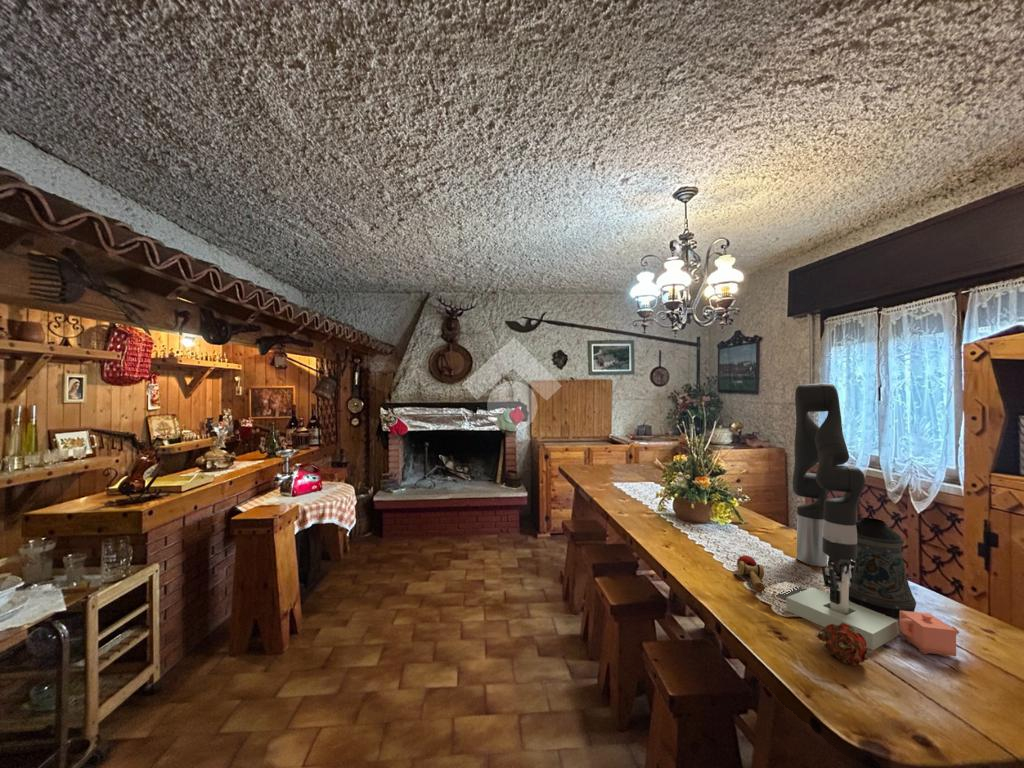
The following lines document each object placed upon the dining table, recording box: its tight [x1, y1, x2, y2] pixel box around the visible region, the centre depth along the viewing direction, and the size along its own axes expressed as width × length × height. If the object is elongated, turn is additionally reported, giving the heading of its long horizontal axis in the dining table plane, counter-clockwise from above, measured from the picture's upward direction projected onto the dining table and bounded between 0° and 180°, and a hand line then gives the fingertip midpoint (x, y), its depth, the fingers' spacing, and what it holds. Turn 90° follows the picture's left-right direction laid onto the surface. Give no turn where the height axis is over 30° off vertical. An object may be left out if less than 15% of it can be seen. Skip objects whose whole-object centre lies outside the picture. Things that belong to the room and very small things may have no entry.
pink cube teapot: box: [898, 610, 960, 658], centre depth 102 cm, size 8×12×8 cm, turn 78°
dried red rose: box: [817, 623, 869, 666], centre depth 97 cm, size 8×8×12 cm
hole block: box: [785, 587, 899, 651], centre depth 112 cm, size 14×20×4 cm
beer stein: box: [849, 517, 917, 619], centre depth 124 cm, size 16×19×25 cm
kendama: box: [736, 554, 766, 593], centre depth 137 cm, size 8×6×18 cm
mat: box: [775, 585, 808, 601], centre depth 129 cm, size 14×10×1 cm
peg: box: [830, 573, 850, 615], centre depth 112 cm, size 4×4×12 cm
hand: (839, 600), depth 112 cm, fingers closed on peg, 4 cm apart
